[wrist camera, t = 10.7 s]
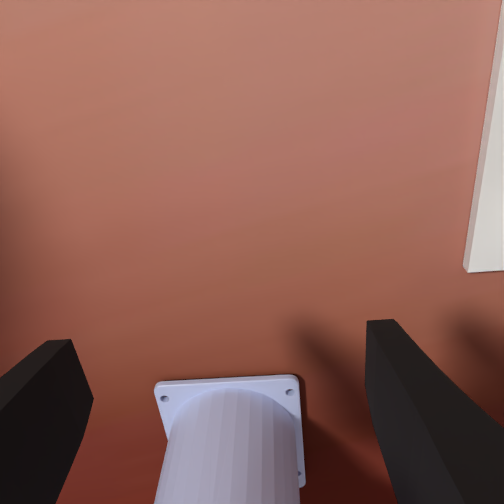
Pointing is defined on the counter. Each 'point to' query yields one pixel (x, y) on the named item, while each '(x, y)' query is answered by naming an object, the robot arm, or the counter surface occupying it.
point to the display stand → (489, 177)
